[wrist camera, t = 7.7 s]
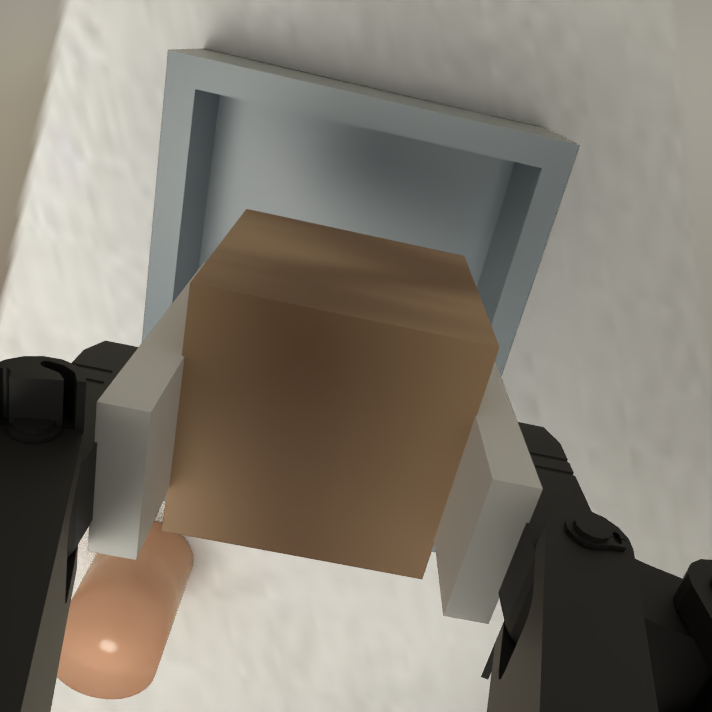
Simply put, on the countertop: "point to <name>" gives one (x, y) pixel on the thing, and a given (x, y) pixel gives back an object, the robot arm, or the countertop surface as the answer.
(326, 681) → the countertop surface
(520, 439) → the robot arm
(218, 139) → the slate tote
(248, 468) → the walnut cube
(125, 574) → the terracotta cylinder
